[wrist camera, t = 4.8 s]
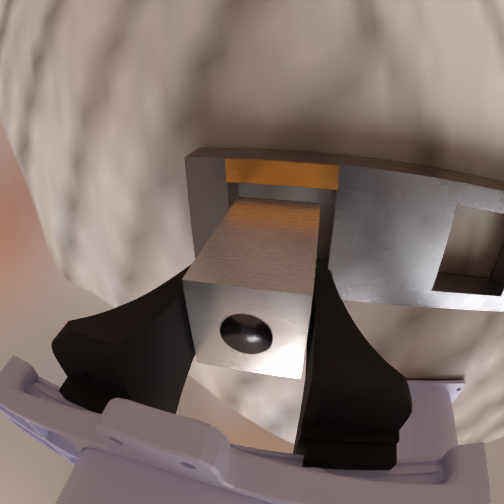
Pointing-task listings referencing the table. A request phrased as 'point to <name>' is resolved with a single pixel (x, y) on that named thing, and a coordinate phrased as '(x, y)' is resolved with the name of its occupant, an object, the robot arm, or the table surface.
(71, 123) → the table surface
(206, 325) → the drilled metal block
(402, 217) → the rail
